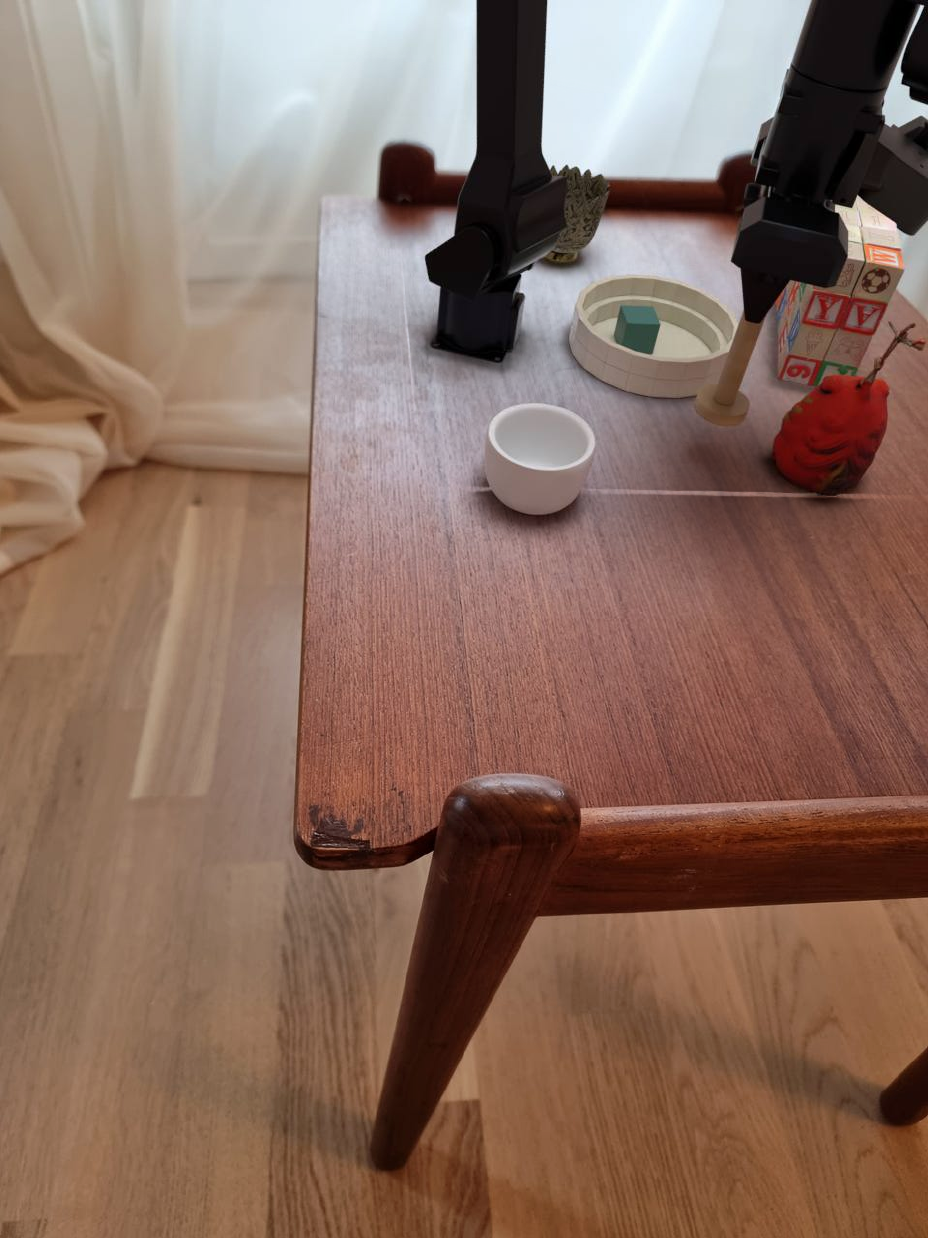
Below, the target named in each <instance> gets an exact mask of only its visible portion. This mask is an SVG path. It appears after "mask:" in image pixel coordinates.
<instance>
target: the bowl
mask: <svg viewBox="0 0 928 1238" xmlns="http://www.w3.org/2000/svg"><path fill="white" fill-rule="evenodd" d="M574 304H575V305H574V309H573V315H572V320H571V326H570V330H569V335H568V342H569V347H570V351H571V354H572V356H573V357H574V358H575V359H576V361H577V362H578V363H579V365H580V366H581V367H582V368H583V369H584V370H585V371H587V372H588V373H590V374H591V375H593V377H595V378H597V379H598V380H600V381H601V382H603V383H606V384H608V385H610V386H613V387H615V388H617V389H619V390H622V391H625V392H628V393H633V394H637V395H641V396H645V397H652V398H666V399H669V398H670V399H681V398H687V397H688V398H689V397H694V396H695V397H696V396H697V393H698V391H699V390H700V389H701V388H702V387H704V386H706V385H710V384H718V382H719V379H720V376H721V373H722V370H723V367H724V365H725V362H726V359H727V356H728V353H729V350H730V347H731V344H732V342H733V339H734V336H735V333H736V330H737V327H738V324H739V321H738V319H737V317H736V315H735V313H734V312H733V311H732V310H731V309H730V308H729V306H728V305H726V304H725V303H724V302H723V301H721V300H720V299H718V298H717V297H716V296H713V295H712V294H710V293H708V292H707V291H705V290H704V289H702V288H700V287H696V286H694V285H691V284H688V283H686V282H683V281H680V280H677V279H671V278H667V277H662V276H658V275H650V274H649V275H648V274H647V275H646V274H634V273H633V274H622V275H612V276H608V277H605V278H602V279H598V280H596V281H593V282H591V283H589V284H588V285H587V286H586V287H585V288H583V289H582V290H581V291H580V292H579V293H578V297H577V299H576V302H575V303H574ZM621 305H629V306H652V307H654V310H655V312H656V314H657V317H658V319H659V322H660V324H661V325H660V329H659V332H658V336H657V340H656V343H655V347H654V351H653V354H645V353H640V352H636V351H633V350H631V349H629V348H626V347H624V346H621V345H619V344H617V343H616V340H615V337H614V332H615V327H616V323H617V319H618V314H619V310H620V306H621Z"/></svg>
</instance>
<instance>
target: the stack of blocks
mask: <svg viewBox="0 0 928 1238" xmlns="http://www.w3.org/2000/svg"><path fill="white" fill-rule="evenodd" d="M835 212H837V213H839V214H840V216H841V218H842V220H843V222H844V224H845V226H846V228H847V230H848V257H847V260H846V262H845V265H844V267H843V269H842V272H841V274H840V277H839V279H838V281H837V284H836V286H834V287H829V288H822V287H818V286H814V285H809V284H805V283H801V282H797V281H792V280H790V282H789V283H788V284H787V286H786V287H785V289H784V290H783V292H782V293H781V294H780V296H779V297H778V299H777V300H776V302H775V303H776V305H775V306H776V314H777V362H776V363H777V365H776V366H777V380H779V381H785V382H786V381H787V382H791V383H795V384H801V385H806V386H810V387H815V388H816V387H817V386H818V385H819V384H821V383H822V381H823V379H824V377H825V376H827V375H830V374H840V375H848V376H857V374H858V372H859V370H860V364H861V363H862V361H863V359H864V357H865V355H866V353H867V350H868V349H869V346H870V343H871V341H872V339H873V336H874V335H875V334H876V333H877V331H878V329H879V327H880V324H881V323H882V320H883V318H884V316H885V314H886V311H887V309H888V307H889V303H890V302H891V299H892V297H893V296H894V293H895V291H896V289H897V288H898V286H899V283H900V281H901V279H902V277H903V275H904V273H905V270H906V266H905V263H904V259H903V258H904V257H903V254H902V248H903V247H902V243H901V239H900V236H899V233H898V229H897V225H896V223H895V222H893V221H892V220H890V219H889V218H887V217H886V216H885V215H883V214H882V213H880V212H879V211H877V210H876V209H874V208H873V207H871V206H870V205H868V204H867V203H866V202H864V201H863V200H862V199H861V198H860V197H859V196H858V195H857V198H856V200H855V203H854V205H853V208H848V207H844V206H839V205H835Z"/></svg>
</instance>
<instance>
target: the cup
mask: <svg viewBox="0 0 928 1238" xmlns="http://www.w3.org/2000/svg"><path fill="white" fill-rule="evenodd" d="M549 169H550V171H551V174H552V176H565V177H566V178H567V181H568V189H567V194H566V199H565V218H566V222H567V228H566V229H564V230H562V231H560V235H559V240H558V242H557V244H556V246H555V247H554V248H553V249H552V250H551V251H550V252H549V253H548V254H547V255H545V256H544V257H542V258H541V259H543V260H544V261H546V262H548V263H550V264H554V265H559V266H566V265H570V264H573V263H574V262H575V261H576V260H577V258H578V252H579V251H582V250H583V249H585V248H587V246H588V245H589V244H590V243H592V241H593V239H594V237H595V236H596V233H597V231H598V228H599V225H600V222H601V219H602V216H603V213H604V210H605V207H606V203H607V200H608V197H609V194H610V190H609V189H610V187H611V185H610V181H607V182H606V179H605V177H604V175H603V174H602V173H600V174H597V175H595V176H592V175H593V174H592V172H591V169H590V168H588V169H585V171H584V172H583V174H582V173H581V169H580V168H579V167H578V166H574V167H573V166H572V167H571V168H570V167H569V165H568V164H565V165H564V166H563V167H562V168H561V169H560V170H559V171H557V169H556V166H555V165H554V164H553V165H551V168H549Z"/></svg>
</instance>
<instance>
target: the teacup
mask: <svg viewBox="0 0 928 1238" xmlns="http://www.w3.org/2000/svg"><path fill="white" fill-rule="evenodd" d="M595 453H596V437H595V433H594V432H593V429H592V428H591V426H590V425H589V424H588V423H587V421H586V420H584V419H583V418H582V417H581V416H579V415H578V414H576V413H575V412H572V411H570V410H569V409H567V408H565V407H561V406H557V405H554V404H549V403H540V402H527V403H520V404H516V405H512V406H509V407H507V408H504V409H503V410H501V411H500V412H498V414H496V415H495V416H494V417H493V418H492V420H491V421H490V423H489V425H488V427H487V431H486V435H485V443H484V472H485V473H484V474H485V477H486V480H487V483H488V486H489V488H490V490H491V491H492V493H493V494H494V496H495V497H496V498H497V499H498V500H499V501H500V502H501V503H502V504H504V505H505V506H506V507H508V508H510V509H511V510H513V511H516V512H519V513H522V514H525V515H533V516H538V515H539V516H543V515H548V514H553V513H556V512H559V511H561V510H562V509H564V508H566V507H567V506H569V505H571V504H572V502H574V501H575V499H576V498H577V497H578V496H579V494H580V492H581V490H582V488H583V486H585V485H584V484H585V482H586V480H587V478H588V475H589V472H590V469H591V467H592V463H593V461H594V458H595Z"/></svg>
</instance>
